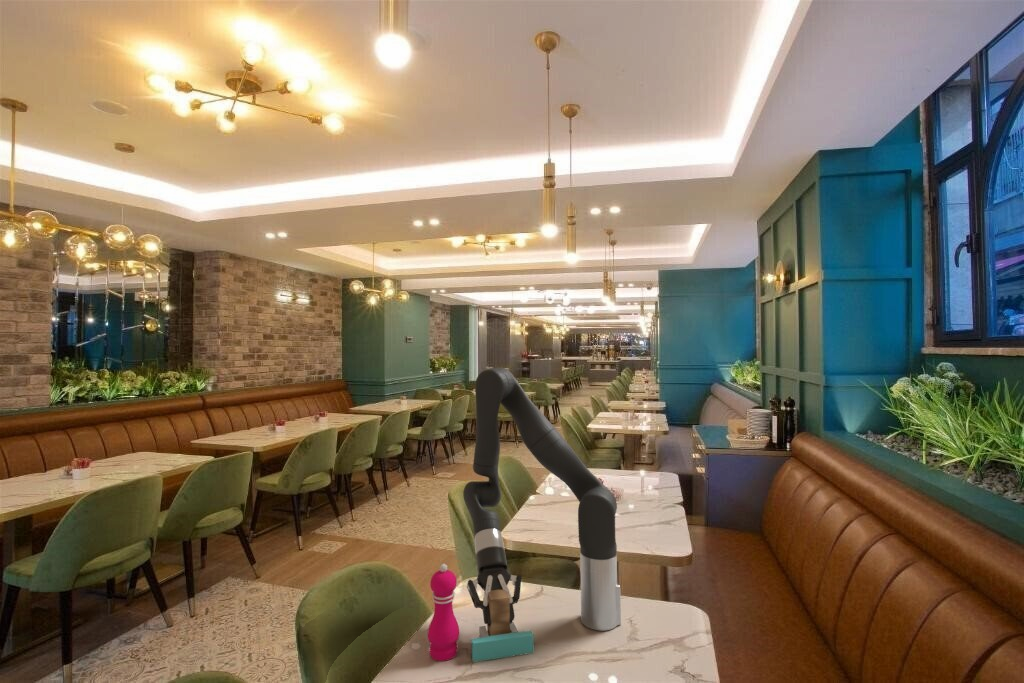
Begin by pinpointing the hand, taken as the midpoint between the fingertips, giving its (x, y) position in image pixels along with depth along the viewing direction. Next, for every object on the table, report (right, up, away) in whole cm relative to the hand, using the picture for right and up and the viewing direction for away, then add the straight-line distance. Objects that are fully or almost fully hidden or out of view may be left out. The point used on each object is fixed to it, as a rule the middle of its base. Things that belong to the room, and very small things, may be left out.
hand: (500, 623), depth 115 cm
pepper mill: (-13, -6, -2) cm, 14 cm away
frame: (0, -6, +1) cm, 6 cm away
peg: (0, -4, +2) cm, 5 cm away
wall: (+1, -5, -3) cm, 6 cm away
